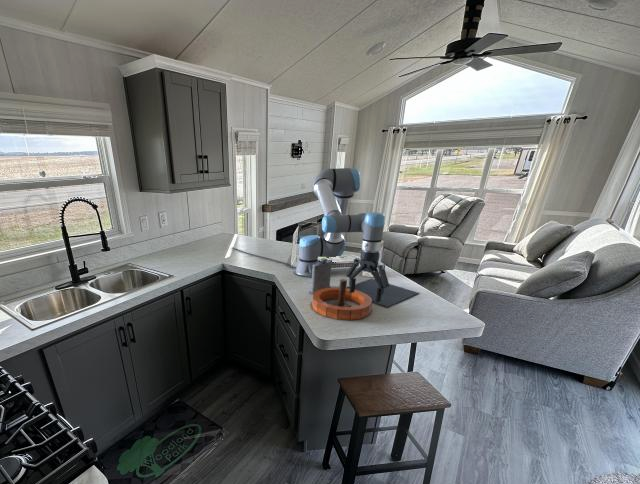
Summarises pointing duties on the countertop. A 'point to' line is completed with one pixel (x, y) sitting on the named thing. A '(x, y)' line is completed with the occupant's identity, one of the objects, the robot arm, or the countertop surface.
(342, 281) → the post
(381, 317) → the countertop surface
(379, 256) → the coffeecake box
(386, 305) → the mat
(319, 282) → the grey flat box
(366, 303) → the ring
